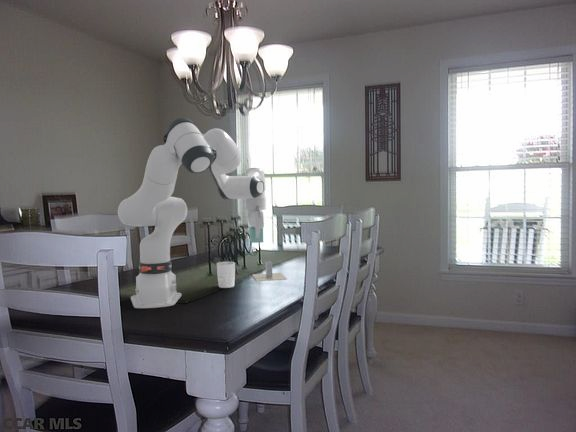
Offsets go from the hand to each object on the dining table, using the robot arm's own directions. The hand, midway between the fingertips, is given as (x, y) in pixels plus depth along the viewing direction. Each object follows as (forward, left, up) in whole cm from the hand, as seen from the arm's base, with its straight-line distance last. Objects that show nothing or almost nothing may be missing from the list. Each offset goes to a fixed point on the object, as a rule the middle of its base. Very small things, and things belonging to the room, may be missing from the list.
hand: (256, 237), depth 202 cm
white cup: (-4, +14, -20) cm, 25 cm away
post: (+10, -7, -20) cm, 23 cm away
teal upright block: (0, 0, -2) cm, 2 cm away
